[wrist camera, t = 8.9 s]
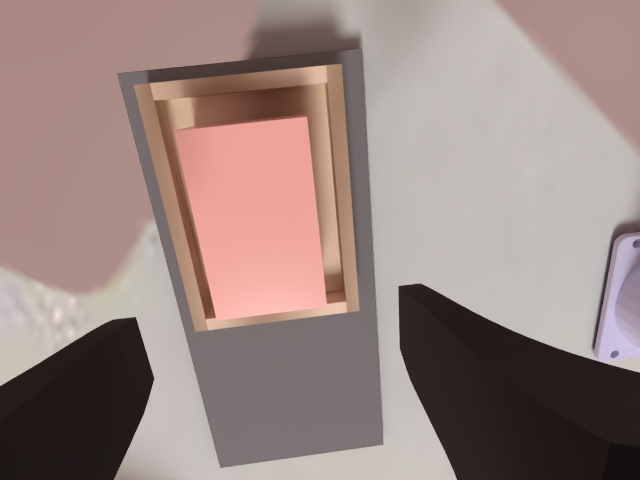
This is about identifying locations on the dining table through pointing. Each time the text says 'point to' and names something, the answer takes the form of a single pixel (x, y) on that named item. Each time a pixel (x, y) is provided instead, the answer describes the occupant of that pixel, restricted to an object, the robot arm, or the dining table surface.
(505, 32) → the dining table surface
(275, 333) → the mat
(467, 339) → the robot arm
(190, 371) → the dining table surface
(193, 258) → the tray
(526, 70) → the dining table surface
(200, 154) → the card deck
